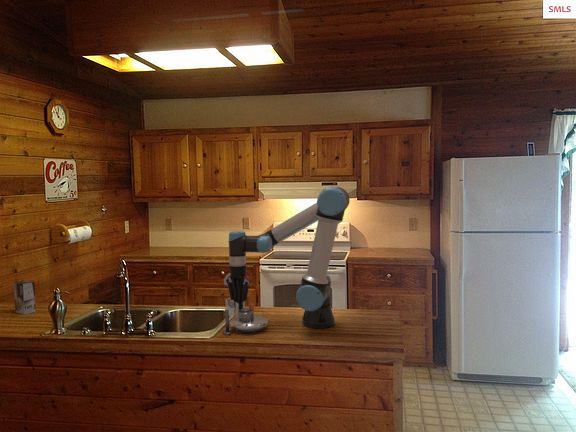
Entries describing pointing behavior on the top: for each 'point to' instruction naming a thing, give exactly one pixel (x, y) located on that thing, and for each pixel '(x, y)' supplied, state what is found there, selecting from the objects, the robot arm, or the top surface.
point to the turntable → (256, 324)
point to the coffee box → (24, 297)
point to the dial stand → (228, 312)
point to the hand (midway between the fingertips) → (238, 316)
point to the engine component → (228, 300)
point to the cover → (246, 315)
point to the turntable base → (249, 331)
